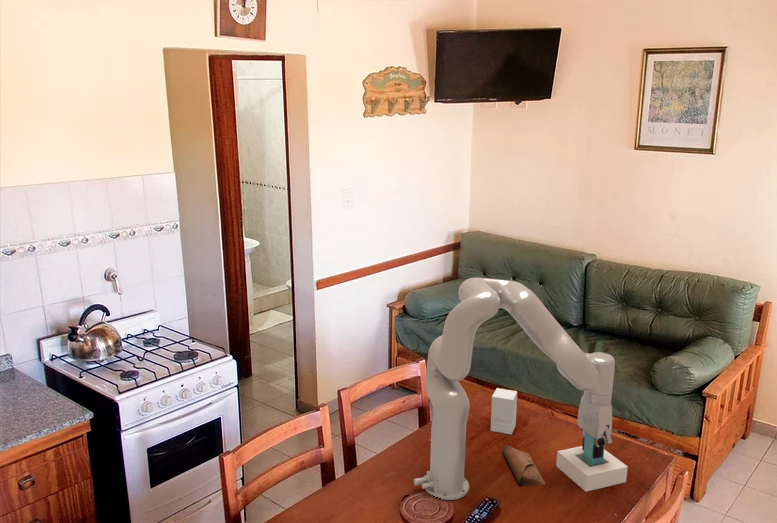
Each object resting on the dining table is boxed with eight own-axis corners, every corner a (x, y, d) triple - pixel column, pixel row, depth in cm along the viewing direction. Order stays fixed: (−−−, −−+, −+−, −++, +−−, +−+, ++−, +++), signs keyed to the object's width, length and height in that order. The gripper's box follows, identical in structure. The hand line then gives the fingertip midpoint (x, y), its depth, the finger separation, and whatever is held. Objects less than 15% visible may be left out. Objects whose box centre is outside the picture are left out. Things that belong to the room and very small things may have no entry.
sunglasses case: (548, 484, 182) (537, 467, 181) (526, 497, 183) (516, 479, 181) (527, 452, 200) (518, 435, 198) (508, 463, 200) (498, 447, 198)
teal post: (591, 465, 185) (593, 437, 183) (583, 458, 188) (585, 430, 186) (603, 462, 186) (605, 434, 184) (594, 455, 190) (596, 428, 188)
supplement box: (516, 425, 217) (518, 390, 214) (511, 435, 210) (513, 399, 207) (494, 421, 219) (496, 387, 216) (489, 431, 213) (491, 395, 210)
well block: (585, 491, 179) (587, 475, 178) (556, 466, 192) (557, 451, 191) (625, 482, 184) (627, 466, 183) (594, 457, 197) (596, 443, 196)
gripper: (568, 385, 189) (564, 442, 193) (606, 410, 173) (600, 470, 178) (589, 382, 191) (584, 437, 195) (628, 406, 176) (622, 465, 180)
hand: (592, 452), depth 187 cm, fingers closed on teal post, 4 cm apart
